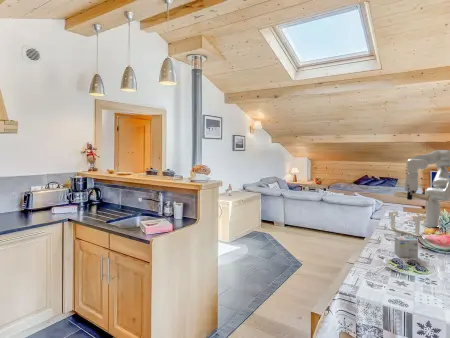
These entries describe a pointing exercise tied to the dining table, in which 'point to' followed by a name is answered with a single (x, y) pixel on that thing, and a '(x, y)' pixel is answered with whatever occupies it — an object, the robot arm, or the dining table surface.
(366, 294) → the dining table surface
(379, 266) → the dining table surface
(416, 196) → the rail
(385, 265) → the dining table surface
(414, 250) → the light bulb box
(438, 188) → the robot arm
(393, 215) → the rack
